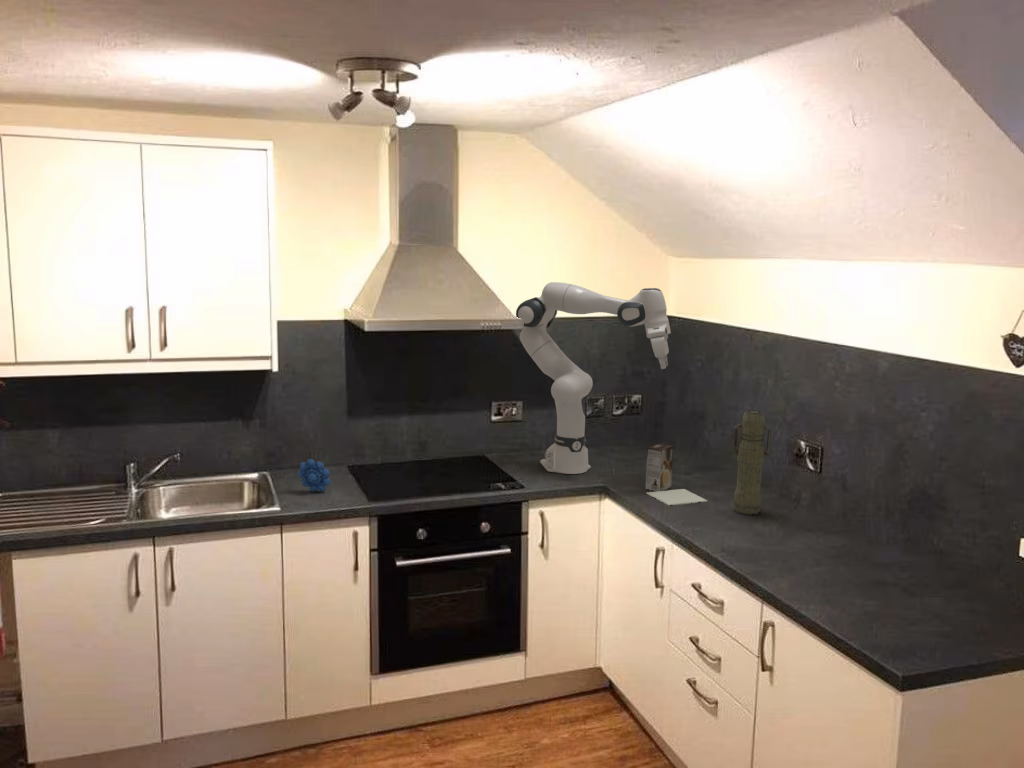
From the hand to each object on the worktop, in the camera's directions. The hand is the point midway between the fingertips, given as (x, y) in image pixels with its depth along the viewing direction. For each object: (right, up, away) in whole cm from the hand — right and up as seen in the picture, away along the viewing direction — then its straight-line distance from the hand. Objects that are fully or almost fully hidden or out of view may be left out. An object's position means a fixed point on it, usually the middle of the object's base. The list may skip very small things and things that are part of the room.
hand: (664, 367), depth 320 cm
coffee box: (-2, -45, +3) cm, 45 cm away
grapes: (-127, -45, -14) cm, 135 cm away
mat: (+3, -47, -9) cm, 48 cm away
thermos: (+24, -50, -22) cm, 60 cm away
